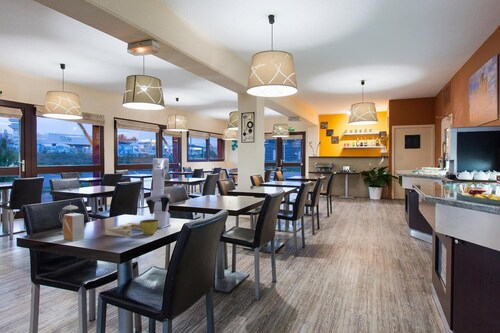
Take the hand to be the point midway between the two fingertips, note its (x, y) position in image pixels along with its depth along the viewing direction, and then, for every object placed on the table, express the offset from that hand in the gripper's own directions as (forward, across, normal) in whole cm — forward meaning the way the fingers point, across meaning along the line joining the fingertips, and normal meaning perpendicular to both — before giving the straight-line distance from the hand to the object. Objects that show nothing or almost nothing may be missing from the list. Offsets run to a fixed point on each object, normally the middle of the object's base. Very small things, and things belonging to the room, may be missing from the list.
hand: (157, 212), depth 170 cm
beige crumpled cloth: (+7, -23, +5) cm, 25 cm away
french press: (+4, -56, -6) cm, 56 cm away
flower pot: (+10, -10, +6) cm, 15 cm away
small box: (+11, -40, -16) cm, 44 cm away
